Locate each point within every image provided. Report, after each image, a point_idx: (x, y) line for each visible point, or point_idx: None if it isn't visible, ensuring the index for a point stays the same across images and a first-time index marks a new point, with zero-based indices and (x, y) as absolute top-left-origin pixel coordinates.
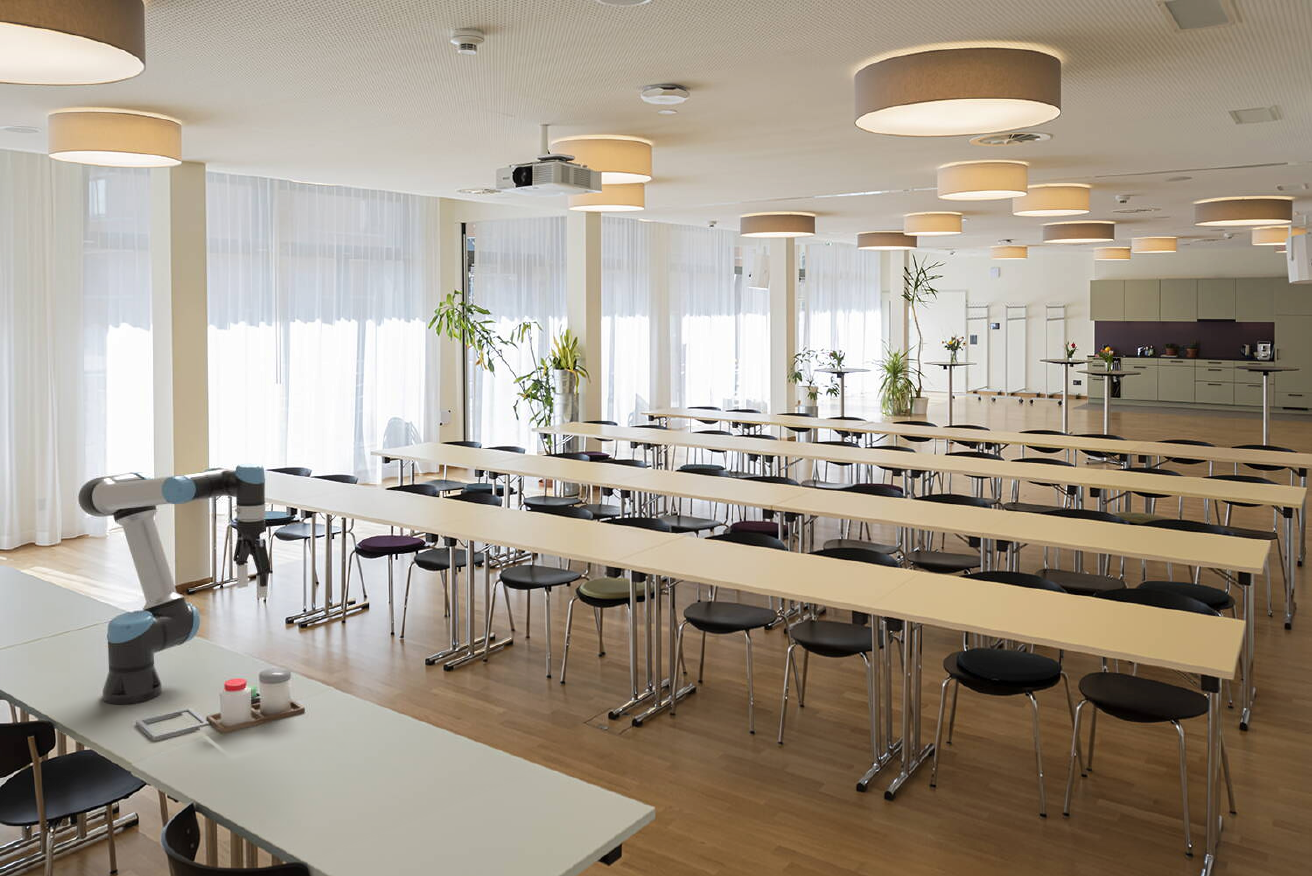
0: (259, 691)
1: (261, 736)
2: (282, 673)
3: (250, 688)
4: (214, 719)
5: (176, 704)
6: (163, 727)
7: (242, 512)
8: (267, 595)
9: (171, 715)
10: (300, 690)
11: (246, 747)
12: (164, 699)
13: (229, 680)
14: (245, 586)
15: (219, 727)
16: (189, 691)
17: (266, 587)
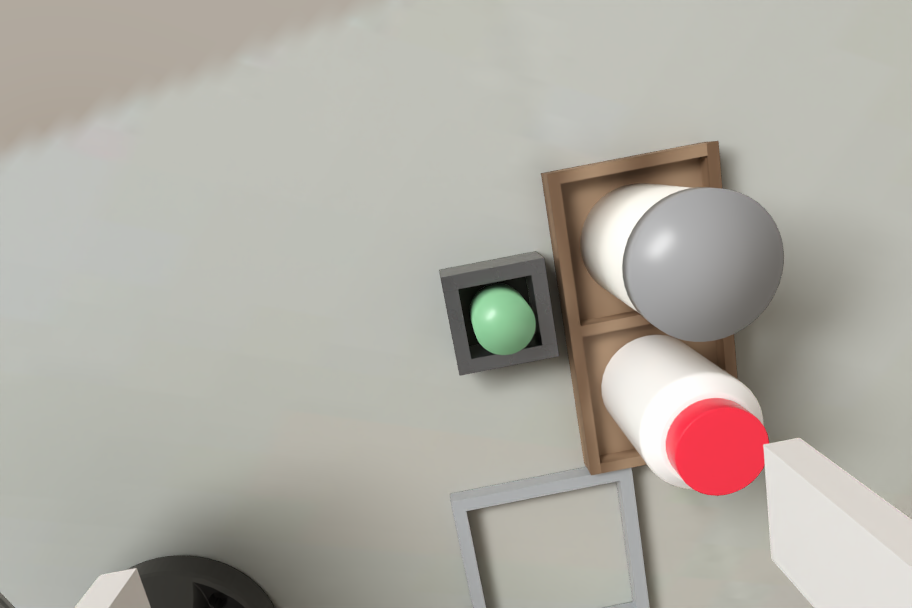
0: (476, 272)
1: (802, 326)
2: (735, 234)
3: (507, 320)
4: (640, 456)
5: (353, 524)
6: (546, 577)
7: None
8: (808, 445)
9: (475, 555)
10: (426, 83)
11: (858, 385)
12: (282, 553)
13: (687, 471)
14: (142, 600)
15: None
16: (234, 472)
17: (903, 526)
